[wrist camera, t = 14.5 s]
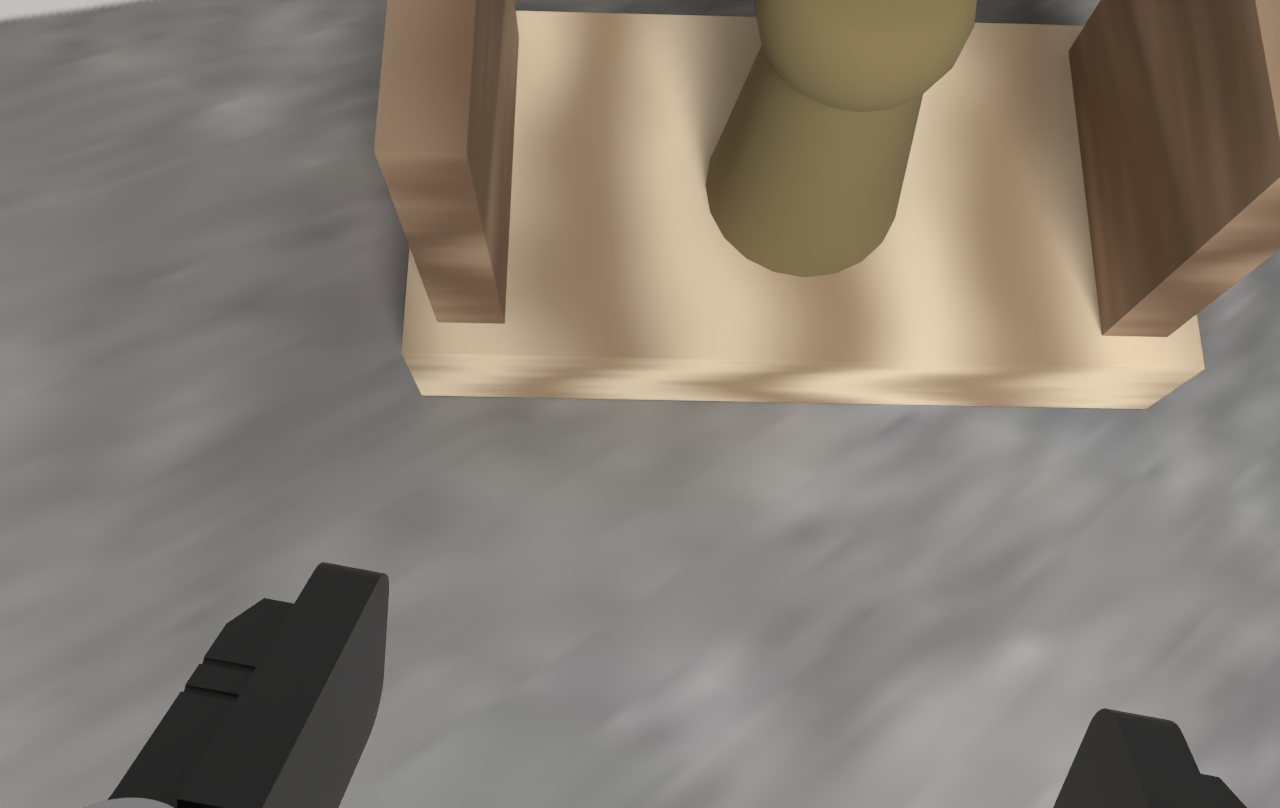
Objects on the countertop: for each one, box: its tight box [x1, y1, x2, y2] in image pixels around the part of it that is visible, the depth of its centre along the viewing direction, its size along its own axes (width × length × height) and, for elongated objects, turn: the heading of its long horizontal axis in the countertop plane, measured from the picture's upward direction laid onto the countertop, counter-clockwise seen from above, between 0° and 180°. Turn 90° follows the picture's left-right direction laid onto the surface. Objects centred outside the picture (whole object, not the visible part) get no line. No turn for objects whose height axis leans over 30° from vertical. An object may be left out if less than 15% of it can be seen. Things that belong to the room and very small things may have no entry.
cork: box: [706, 0, 977, 277], centre depth 31 cm, size 6×6×11 cm
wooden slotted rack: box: [374, 0, 1280, 409], centre depth 34 cm, size 24×12×14 cm, turn 89°
